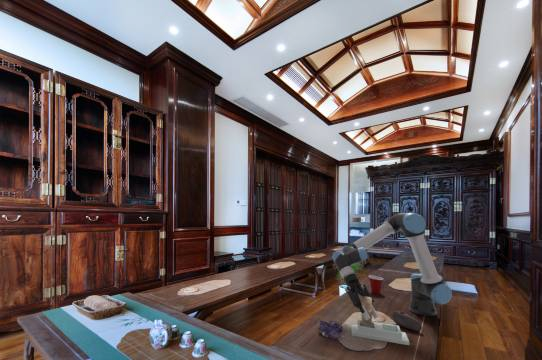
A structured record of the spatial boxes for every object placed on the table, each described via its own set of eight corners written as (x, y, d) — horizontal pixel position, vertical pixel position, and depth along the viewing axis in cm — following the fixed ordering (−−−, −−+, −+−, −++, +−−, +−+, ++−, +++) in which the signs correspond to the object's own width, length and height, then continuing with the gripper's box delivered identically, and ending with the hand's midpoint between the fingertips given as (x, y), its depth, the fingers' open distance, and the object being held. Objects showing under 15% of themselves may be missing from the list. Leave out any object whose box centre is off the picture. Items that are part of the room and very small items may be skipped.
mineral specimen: (317, 339, 124) (317, 330, 124) (320, 326, 137) (320, 317, 137) (341, 343, 120) (341, 334, 121) (342, 329, 133) (342, 321, 134)
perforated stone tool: (424, 332, 133) (423, 318, 134) (419, 334, 130) (418, 320, 131) (397, 321, 146) (396, 308, 147) (391, 323, 143) (391, 310, 144)
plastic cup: (385, 295, 192) (385, 279, 193) (370, 294, 194) (369, 278, 195) (382, 291, 202) (381, 275, 204) (367, 290, 205) (367, 274, 206)
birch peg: (371, 321, 132) (371, 297, 133) (372, 325, 127) (372, 300, 129) (361, 319, 134) (361, 295, 135) (361, 323, 129) (361, 298, 130)
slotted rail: (405, 335, 129) (405, 326, 129) (409, 345, 119) (409, 335, 120) (351, 327, 137) (351, 318, 137) (351, 335, 127) (351, 325, 128)
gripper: (357, 278, 150) (381, 319, 133) (333, 281, 143) (355, 324, 126) (364, 271, 146) (389, 312, 129) (339, 273, 138) (362, 317, 122)
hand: (372, 318), depth 127 cm, fingers closed on birch peg, 5 cm apart
